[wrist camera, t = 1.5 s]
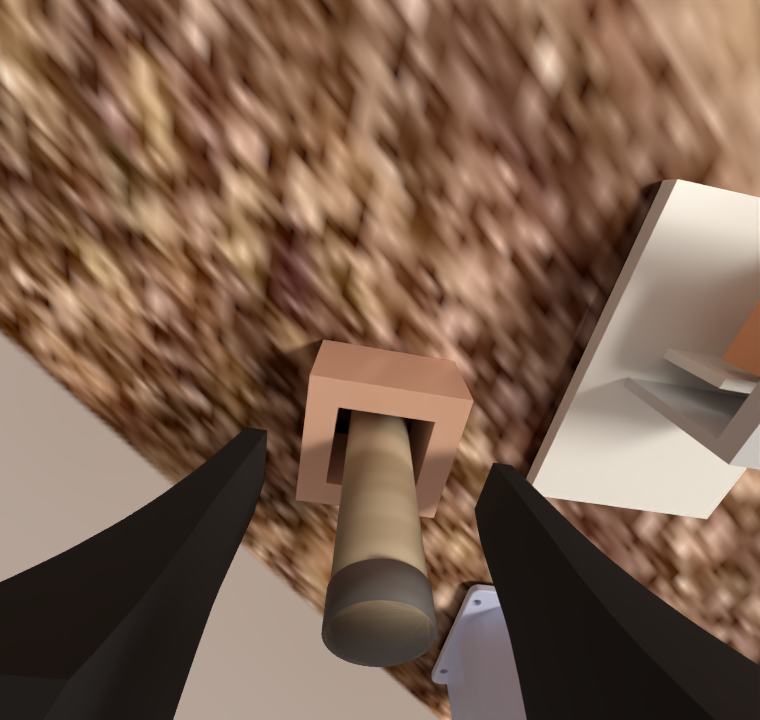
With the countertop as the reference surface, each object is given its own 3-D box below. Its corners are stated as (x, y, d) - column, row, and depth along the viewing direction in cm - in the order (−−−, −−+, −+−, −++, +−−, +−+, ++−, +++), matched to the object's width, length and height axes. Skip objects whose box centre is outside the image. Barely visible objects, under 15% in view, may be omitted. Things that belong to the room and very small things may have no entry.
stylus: (399, 433, 15) (422, 671, 8) (346, 425, 15) (315, 661, 7) (410, 387, 14) (450, 605, 7) (355, 378, 14) (329, 592, 6)
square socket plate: (696, 509, 17) (814, 622, 13) (522, 484, 17) (580, 595, 12) (903, 234, 12) (1235, 254, 7) (663, 180, 11) (863, 165, 7)
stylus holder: (423, 463, 16) (433, 517, 13) (309, 447, 16) (295, 499, 13) (454, 361, 14) (473, 400, 11) (323, 339, 13) (309, 374, 11)
